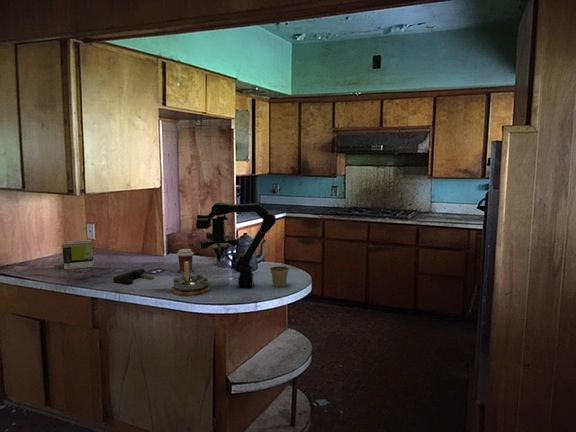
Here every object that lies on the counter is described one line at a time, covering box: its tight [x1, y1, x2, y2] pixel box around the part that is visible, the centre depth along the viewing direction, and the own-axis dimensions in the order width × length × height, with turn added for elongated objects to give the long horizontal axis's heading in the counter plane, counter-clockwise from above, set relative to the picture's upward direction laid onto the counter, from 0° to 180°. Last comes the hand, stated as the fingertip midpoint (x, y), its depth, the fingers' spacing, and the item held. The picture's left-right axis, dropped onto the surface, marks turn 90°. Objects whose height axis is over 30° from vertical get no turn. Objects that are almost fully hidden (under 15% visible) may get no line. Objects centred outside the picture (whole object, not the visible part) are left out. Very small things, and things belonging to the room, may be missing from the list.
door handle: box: [112, 268, 155, 286], centre depth 243 cm, size 3×20×16 cm
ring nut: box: [172, 261, 209, 292], centre depth 222 cm, size 16×16×14 cm
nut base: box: [171, 283, 211, 297], centre depth 224 cm, size 18×18×2 cm
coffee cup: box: [176, 248, 195, 274], centre depth 257 cm, size 9×9×12 cm
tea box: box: [61, 239, 95, 270], centre depth 268 cm, size 15×10×15 cm
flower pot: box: [269, 265, 290, 288], centre depth 230 cm, size 9×9×9 cm
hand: (218, 260), depth 227 cm, fingers closed
